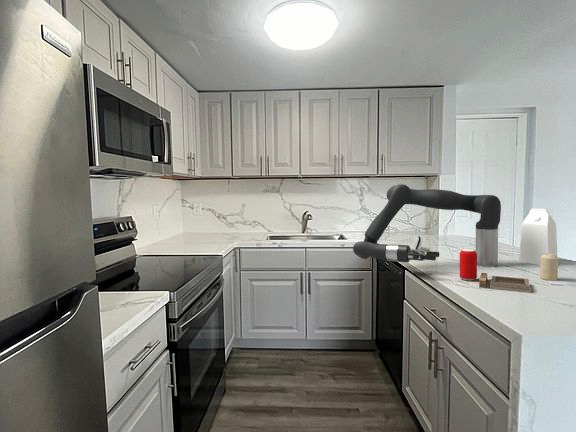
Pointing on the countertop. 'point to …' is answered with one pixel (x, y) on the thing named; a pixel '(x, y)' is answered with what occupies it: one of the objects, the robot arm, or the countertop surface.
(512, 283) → the tray
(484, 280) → the sill
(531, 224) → the milk
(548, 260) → the candle
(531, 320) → the countertop surface
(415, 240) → the hinge
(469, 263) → the beverage can
